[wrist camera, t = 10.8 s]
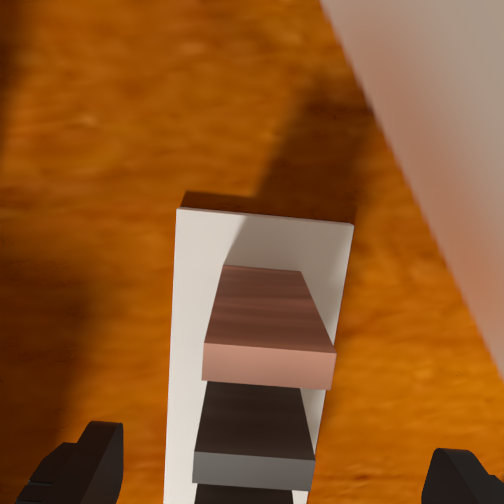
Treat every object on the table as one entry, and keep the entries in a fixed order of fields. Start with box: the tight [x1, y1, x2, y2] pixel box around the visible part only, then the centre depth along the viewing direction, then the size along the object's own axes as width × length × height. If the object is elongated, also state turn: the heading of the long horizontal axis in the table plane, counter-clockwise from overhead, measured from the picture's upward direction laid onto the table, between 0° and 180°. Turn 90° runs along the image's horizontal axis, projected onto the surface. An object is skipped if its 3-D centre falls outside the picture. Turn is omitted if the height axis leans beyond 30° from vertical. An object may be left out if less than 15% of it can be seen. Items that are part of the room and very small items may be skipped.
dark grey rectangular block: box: [192, 381, 316, 492], centre depth 20 cm, size 2×5×10 cm, turn 85°
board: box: [164, 207, 354, 504], centre depth 27 cm, size 28×11×1 cm, turn 174°
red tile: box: [201, 265, 337, 390], centre depth 19 cm, size 2×5×10 cm, turn 85°
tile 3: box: [194, 483, 294, 504], centre depth 21 cm, size 2×5×10 cm, turn 85°
